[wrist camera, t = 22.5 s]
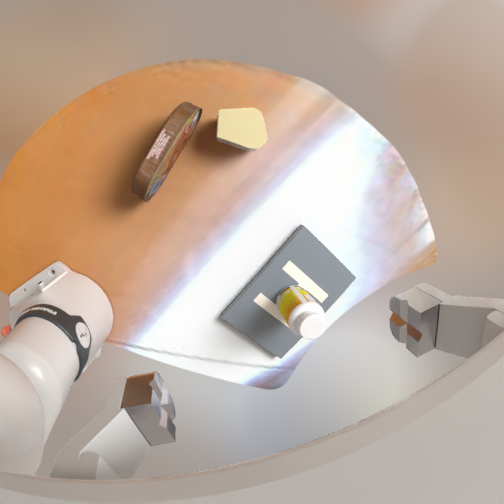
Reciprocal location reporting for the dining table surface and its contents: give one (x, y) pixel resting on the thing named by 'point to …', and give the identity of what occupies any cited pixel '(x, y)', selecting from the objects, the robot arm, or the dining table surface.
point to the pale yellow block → (241, 128)
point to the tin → (165, 150)
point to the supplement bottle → (301, 312)
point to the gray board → (279, 277)
